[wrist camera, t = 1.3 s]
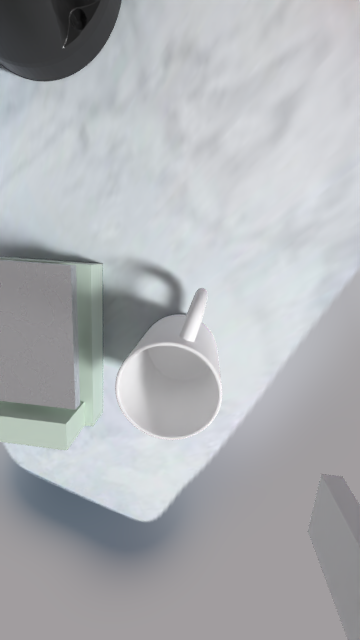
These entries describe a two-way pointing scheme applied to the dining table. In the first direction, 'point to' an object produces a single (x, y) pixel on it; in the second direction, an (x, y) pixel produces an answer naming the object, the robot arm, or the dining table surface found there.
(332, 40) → the dining table surface
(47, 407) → the scale base
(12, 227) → the dining table surface
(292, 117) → the dining table surface
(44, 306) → the speckled metal plate
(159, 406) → the cup
